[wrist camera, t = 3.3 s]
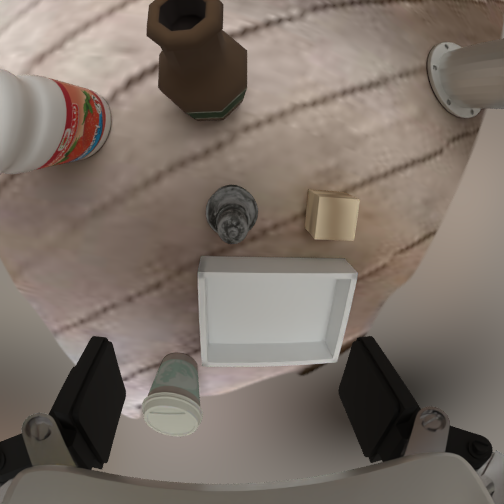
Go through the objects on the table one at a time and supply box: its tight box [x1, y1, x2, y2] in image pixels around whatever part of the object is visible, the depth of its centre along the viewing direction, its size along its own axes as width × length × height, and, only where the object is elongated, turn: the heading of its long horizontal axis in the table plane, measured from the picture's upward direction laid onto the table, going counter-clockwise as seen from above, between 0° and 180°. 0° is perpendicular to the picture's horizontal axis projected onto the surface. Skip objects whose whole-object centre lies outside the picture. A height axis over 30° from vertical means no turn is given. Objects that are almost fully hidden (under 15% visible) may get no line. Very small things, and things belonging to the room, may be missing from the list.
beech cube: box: [305, 189, 360, 241], centre depth 36 cm, size 5×5×5 cm
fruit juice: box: [0, 69, 111, 174], centre depth 18 cm, size 9×9×28 cm
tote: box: [198, 256, 358, 367], centre depth 40 cm, size 20×15×5 cm
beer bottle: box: [147, 0, 247, 121], centre depth 20 cm, size 8×8×24 cm
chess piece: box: [206, 185, 258, 244], centre depth 31 cm, size 6×6×12 cm
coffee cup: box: [142, 353, 203, 436], centre depth 40 cm, size 8×8×12 cm
